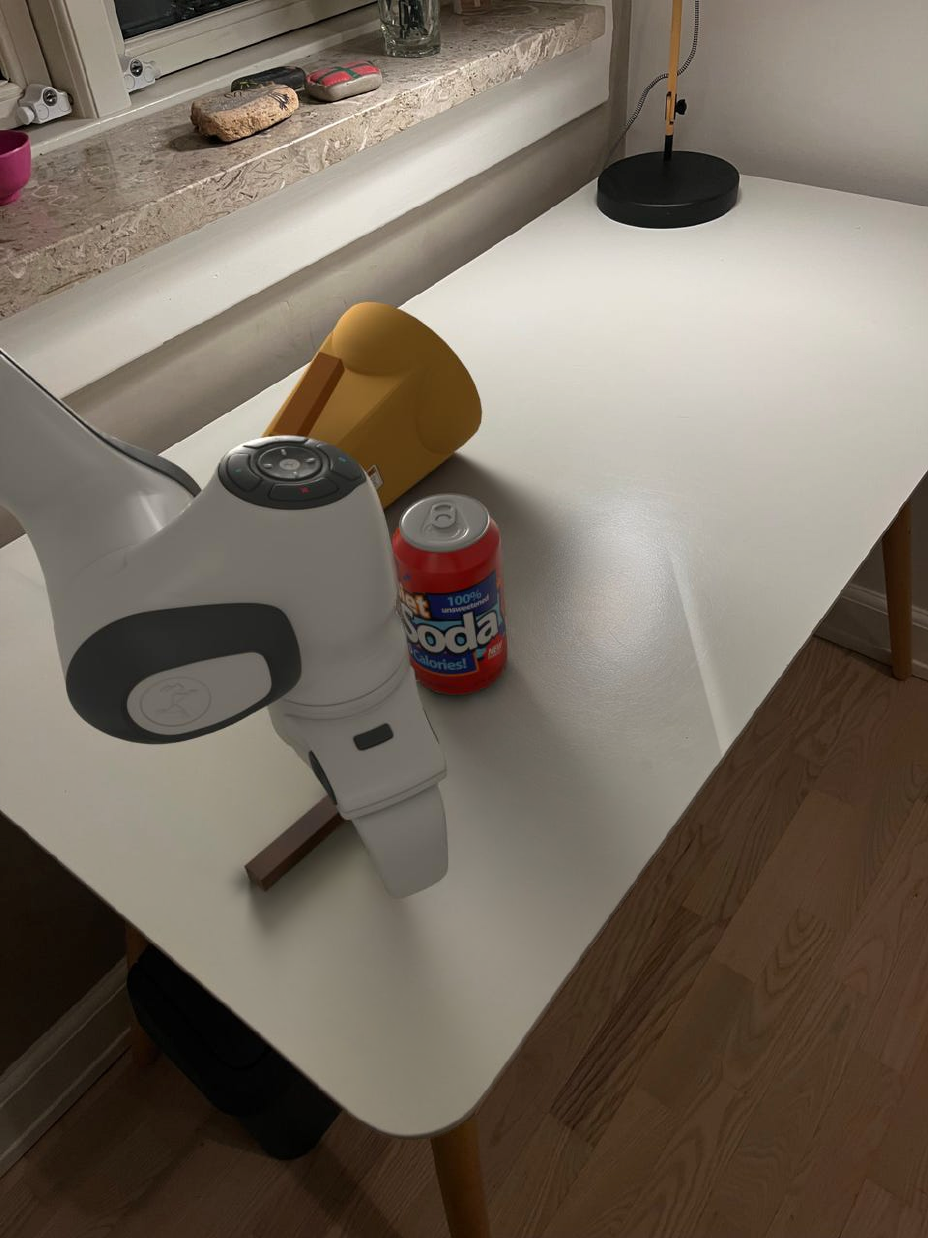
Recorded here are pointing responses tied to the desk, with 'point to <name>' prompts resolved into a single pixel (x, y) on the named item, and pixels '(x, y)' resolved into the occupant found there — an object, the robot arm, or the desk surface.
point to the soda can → (452, 593)
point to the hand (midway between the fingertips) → (369, 820)
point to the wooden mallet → (294, 844)
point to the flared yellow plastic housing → (384, 398)
